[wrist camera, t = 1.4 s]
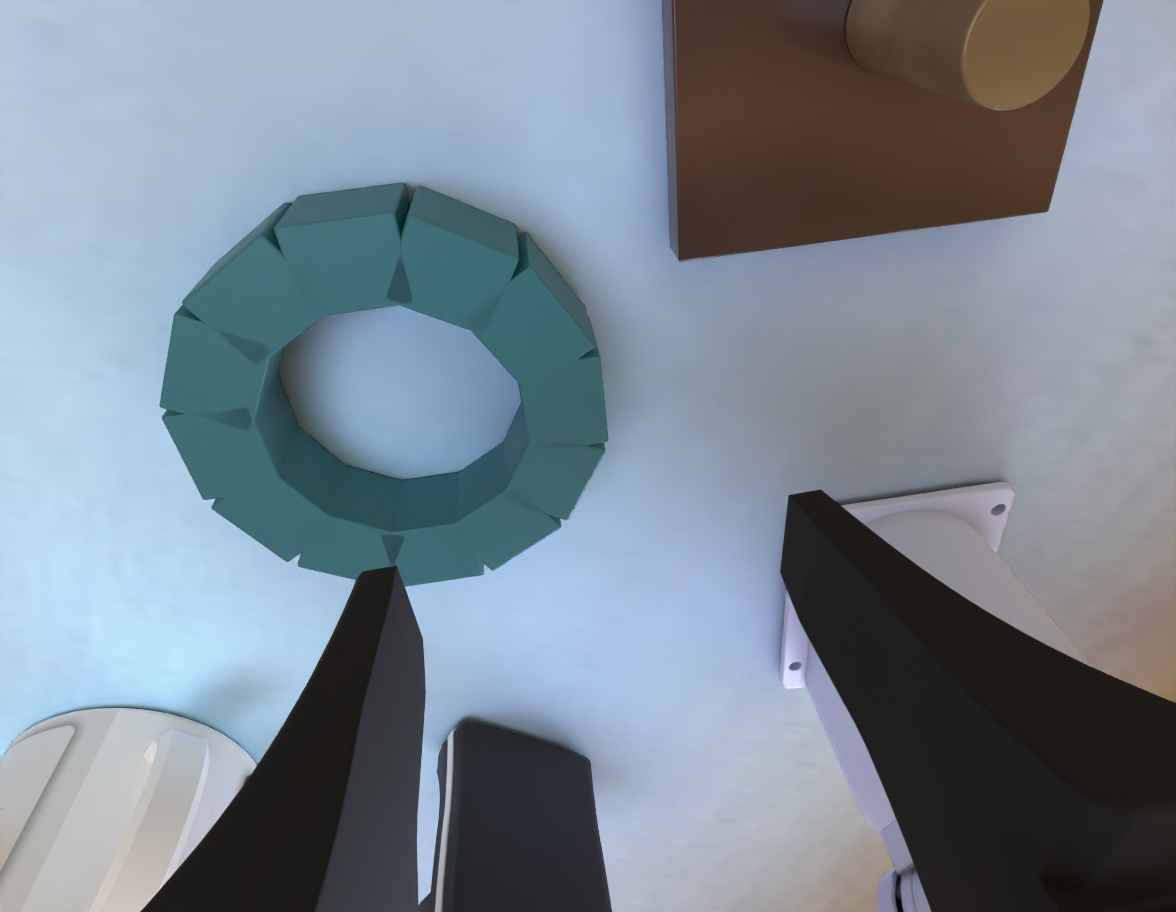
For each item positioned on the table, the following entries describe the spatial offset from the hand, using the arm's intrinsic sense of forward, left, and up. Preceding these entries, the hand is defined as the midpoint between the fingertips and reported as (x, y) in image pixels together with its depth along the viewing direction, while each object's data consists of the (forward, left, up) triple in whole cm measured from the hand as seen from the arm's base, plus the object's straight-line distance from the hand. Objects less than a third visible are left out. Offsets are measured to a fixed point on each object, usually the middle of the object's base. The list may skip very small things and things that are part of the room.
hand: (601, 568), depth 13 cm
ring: (-1, +5, -10) cm, 11 cm away
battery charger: (-20, +5, -10) cm, 22 cm away
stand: (+7, -8, -10) cm, 15 cm away
